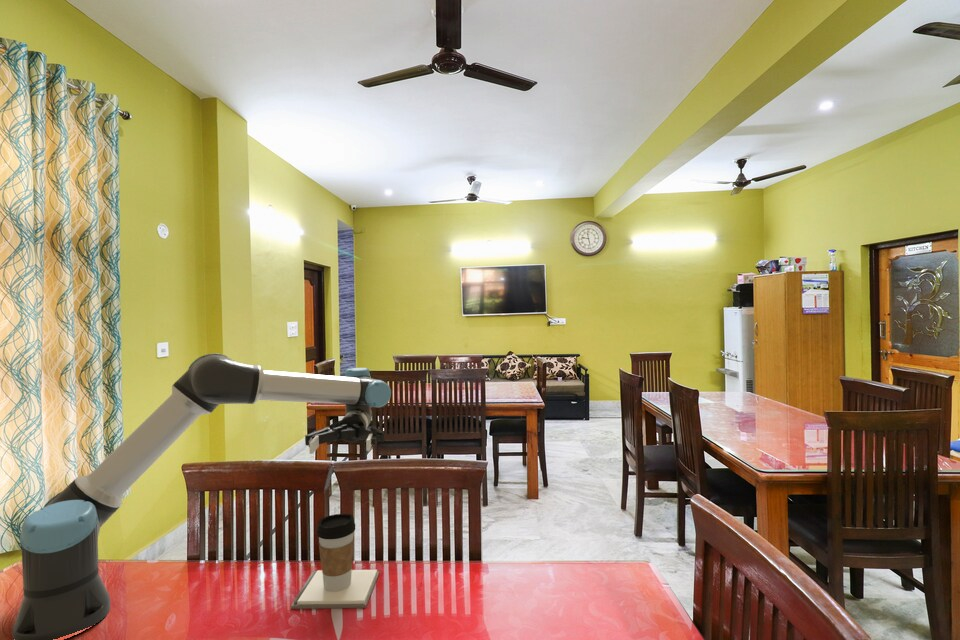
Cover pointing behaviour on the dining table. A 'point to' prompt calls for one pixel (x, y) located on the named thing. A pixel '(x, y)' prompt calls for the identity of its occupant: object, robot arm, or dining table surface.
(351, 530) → the coffee cup
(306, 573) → the dining table surface
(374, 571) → the notepad
